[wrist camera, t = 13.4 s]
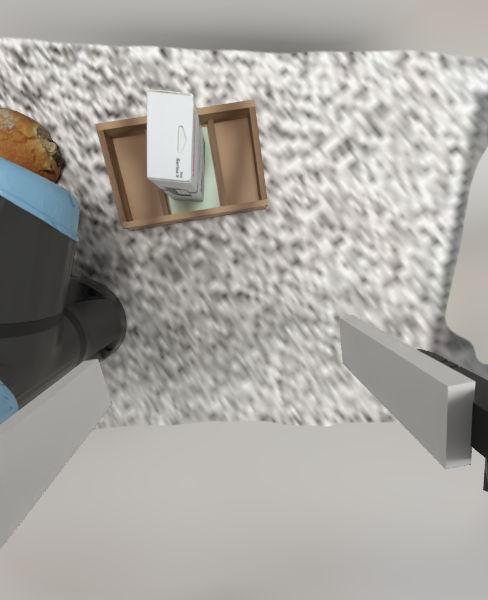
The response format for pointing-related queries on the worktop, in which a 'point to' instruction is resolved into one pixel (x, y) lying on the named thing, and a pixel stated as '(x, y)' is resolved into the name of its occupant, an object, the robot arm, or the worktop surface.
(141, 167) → the tray
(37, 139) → the bread roll
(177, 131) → the ink box
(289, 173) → the worktop surface
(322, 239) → the worktop surface
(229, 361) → the worktop surface
